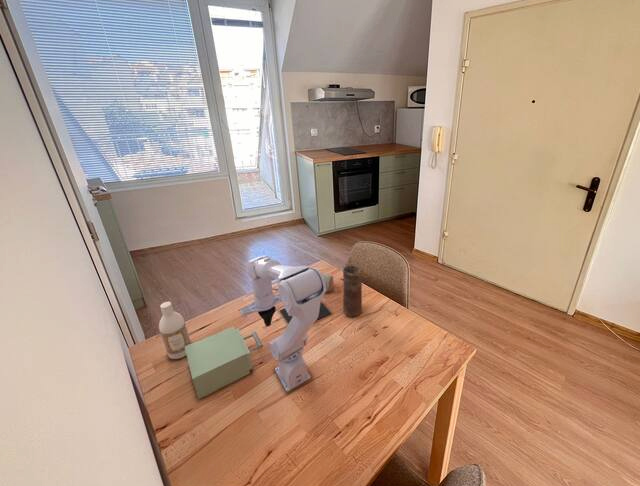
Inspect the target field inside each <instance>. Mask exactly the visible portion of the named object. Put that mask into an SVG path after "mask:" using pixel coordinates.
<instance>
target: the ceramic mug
mask: <svg viewBox="0 0 640 486" xmlns="http://www.w3.org/2000/svg"><path fill="white" fill-rule="evenodd" d="M322 275H323V277H324V281H325V285H326V292H327V293H328V292H331V291H332V289H333V286H334V285H333V284H334V276H333V275H330V274H325V273H322ZM326 292H325V293H326Z"/></svg>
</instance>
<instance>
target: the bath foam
mask: <svg viewBox="0 0 640 486" xmlns="http://www.w3.org/2000/svg"><path fill="white" fill-rule="evenodd" d="M159 307H160V310H161V313H162V316H161V318H160V320H159V323H158V330H159V333H160V336H161V339H162V342H163V344H164V347H165V350H166V353H167V356H168V358H170V359H171V360H179V359H182V358H184V357H187V355H186V351H185V346H187V345H189V344H192V342H191V338H190V334H189V331H188V328H187V324H186V321H185V318H184V317H183V316H182V314H180V313H179V312H177V311H174V307H173V304H172V302H171V301H164V302H163V303H161V304H160V306H159Z"/></svg>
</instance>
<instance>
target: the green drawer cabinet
mask: <svg viewBox="0 0 640 486" xmlns="http://www.w3.org/2000/svg"><path fill="white" fill-rule="evenodd" d="M235 329H236V328H235V326H231V327H229V328H226V329H224V330H221V331H219V332H216V333H214V334H212V335H208V336H207V337H204V338H202V339H200V340H197V341H194V342H191V344H189V345H187V346H185V351H186V360H187V362H188V367H189V371H190V375H191V379H192V382H193V385H194V389H195V392H196V396H197V398H198V400H200V399H203V398H204V397H206V396H209V395H210V394H212V393H214V392H216V391H218V390H220V389H222V388H224V387H226V386H227V385H228V386H229V385H230V384H232V383H234V382H236V381H238V380H240V379H242V378H244V377H246V376H248V375H250V374H251V372H250V371H251V369H250V370H249V365H248V360H247V354H246V352H245V350H244V347H243V345H242V343H241V341H240V339H239V337H238V335H237V332H236V330H235Z"/></svg>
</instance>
